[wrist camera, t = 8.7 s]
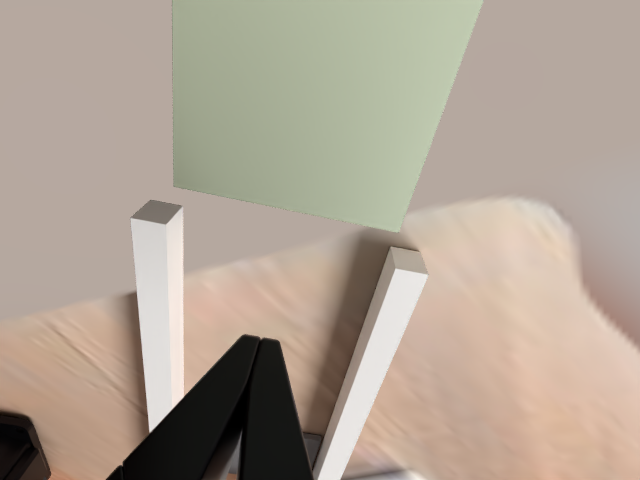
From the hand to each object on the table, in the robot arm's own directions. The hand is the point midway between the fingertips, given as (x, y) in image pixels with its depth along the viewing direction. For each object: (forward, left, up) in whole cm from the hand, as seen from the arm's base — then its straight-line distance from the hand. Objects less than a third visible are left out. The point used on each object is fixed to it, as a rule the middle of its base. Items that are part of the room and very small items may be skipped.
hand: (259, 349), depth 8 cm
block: (0, +6, -6) cm, 8 cm away
